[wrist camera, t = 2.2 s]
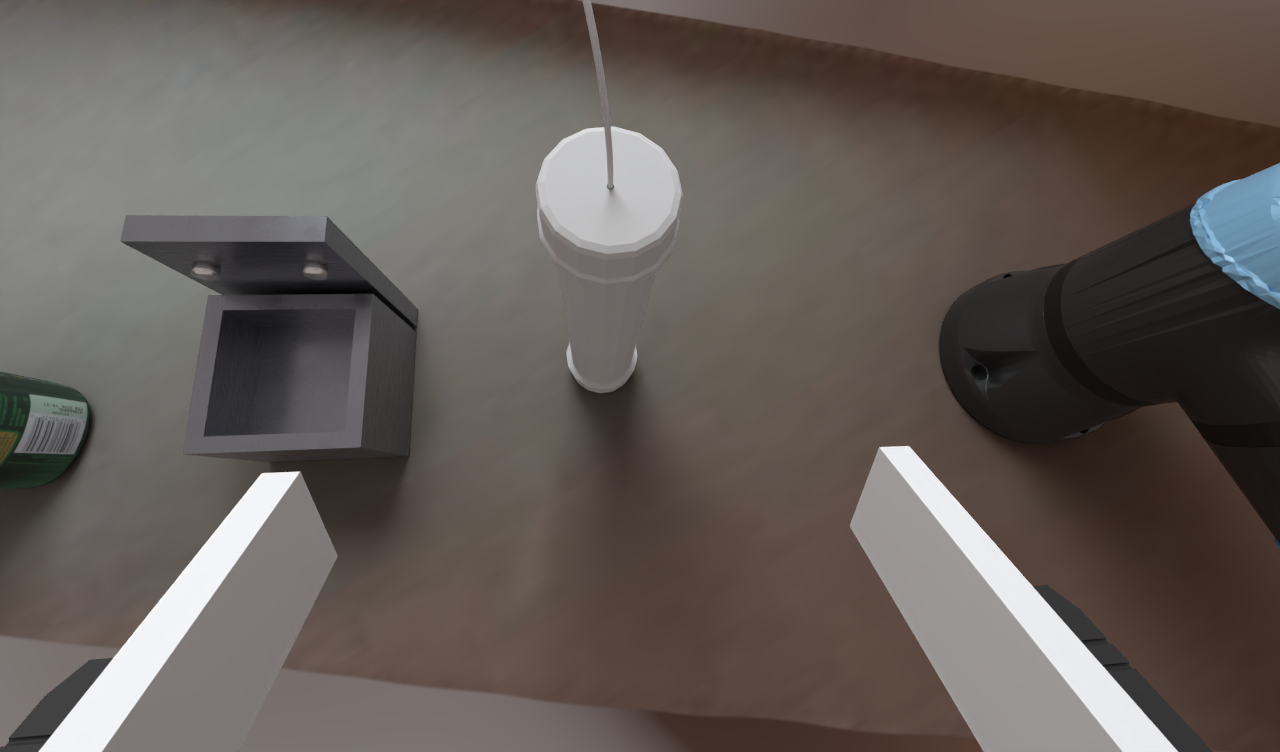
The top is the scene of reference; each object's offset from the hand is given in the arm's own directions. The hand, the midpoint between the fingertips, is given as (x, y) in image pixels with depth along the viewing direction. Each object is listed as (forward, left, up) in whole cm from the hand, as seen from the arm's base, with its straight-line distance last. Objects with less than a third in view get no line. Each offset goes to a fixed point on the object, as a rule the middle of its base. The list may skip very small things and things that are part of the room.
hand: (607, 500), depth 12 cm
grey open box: (+21, +2, -27) cm, 35 cm away
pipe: (+5, -10, -27) cm, 30 cm away
